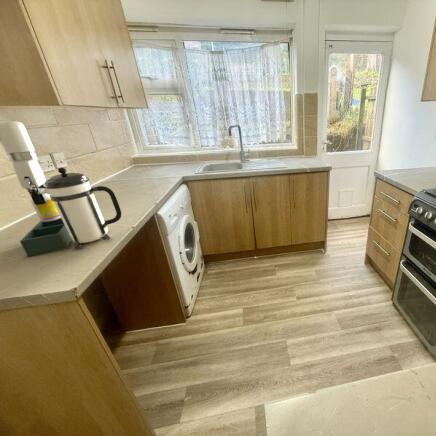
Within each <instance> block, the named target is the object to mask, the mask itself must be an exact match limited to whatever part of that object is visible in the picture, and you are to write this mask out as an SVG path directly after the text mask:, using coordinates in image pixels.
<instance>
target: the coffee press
mask: <svg viewBox="0 0 436 436" xmlns="http://www.w3.org/2000/svg"><path fill="white" fill-rule="evenodd" d="M57 172H58V173H59V174H56V175H53V176H49V177H48V178H46V181H45V185H44V187H45V189H44V190H43V192H42V194H46V193H49V194H50V198H51V200H52V201H53V202H54V204H55V206H56V208H57V210H58V212H59V214H60V216H61V218H62V220H63V222H64V225H65V227H66V229H67V231H68V233H69V235H70V237H71V241H73V243H74V249H78V250H79V249H80V248H82V247H83V245H84V244H86V243H90V242H94V241H97V240H99V239H103V240H104V241H106V240H107V241H109V240H110V239H111V236H110V235H108V233H109V229H108V226H109V225H111V224H114V223H116V222H118V221H119V220H121V217H122V209H121V207H120V204H119V202H118V199H117V197H116V194H115V192H114V190H112V189H111V188H109V187H107V186H105V185H98V186H94V187H92V186H91V184H90V178H89V177H87V175H85V174H84V173H82V172H67V169H66V168H65V167H59V168H58V169H57ZM102 191H103V192H105V193H107V194H108V195H109V197H110V199H111V202H112V204H113V207H114V210H115V216H114V217H113V218H111V219H110V218H109V219H106V220H105V218H104V216H103V213H102V211H101V209H100V206H99V204H98V201H97V199H96V195H95V192H102Z"/></svg>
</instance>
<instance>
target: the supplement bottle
mask: <svg viewBox="0 0 436 436" xmlns="http://www.w3.org/2000/svg"><path fill="white" fill-rule="evenodd" d="M44 189H45V188H40V194H42V192H43V190H44ZM35 190H36V188H35ZM36 191H37V190H36ZM42 195H43V197H44V199H45V201H46V203H45V204H39V205H35V204H34V202H33V199H32V197H30V198H29V201H30V202H31V205H32V206H33V209H34V210H35V212H36V214H37V216H38V218H39V220H40V221H42V222H49V221H54V220H57V219H59V218H61V216H60V214H59V212H58V210H57V208H56V206H55V204H54V202H53V201H52V200H51V198H50V194H47V193H46V194H42Z"/></svg>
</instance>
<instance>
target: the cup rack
mask: <svg viewBox="0 0 436 436" xmlns="http://www.w3.org/2000/svg"><path fill="white" fill-rule="evenodd" d="M71 241H72V239H71V237H70V235H69V233H68V231H67V229H66V227H65V225H64V222H63V220H62V218H59V219H57V220H54V221H49V222H42V221H41V220H40V221H38V222H37V223H36V225H34V227H32V229H30V230H29V231H28V233H27V234H25V235H24V236H23V237H22V238H21V239H20V240H19V242H20V244H21V246H22V248H23V250H24V252H25V253H26V255H27V257H33V256H38V255H42V254H47V253H51V252H56V251H61V250H64V249H67V247H68V246H69V244H70V243H71Z"/></svg>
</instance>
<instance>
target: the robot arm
mask: <svg viewBox="0 0 436 436" xmlns="http://www.w3.org/2000/svg"><path fill="white" fill-rule="evenodd" d="M0 143H1V145H2V147H3V149H4V151H5V153H6V155H7V157H8V159H9V161H10V163H12V166H13V170H14V173H15V175H16V178H17V180H18V183H19V184H20V186H21V188H22V189H26V191H27V192H28V194H29V196H30V198H32V199H33V202H34V204H35V205H39V204H45V203H46V201H45V199H44V197H43V195H42V194H40V188H45V187H44V185H45V181H46V180H47V178H46V176H45V173H44V171H43V169H42V167H41V166H40V163H39V161H38V160H39V159H40V158H39V156H38V154H37V152H36V149H35V147H34V144H33V143H32V140H31V138H30V136H29V134H28V131H27V128H26V126H25V125H24V123H22V122H20V121H17V120H11V121H10V120H8V121H7V120H6V121H4V120H3V121H0ZM35 189H36V190H37V191H36V190H35ZM47 194H49V193H47Z"/></svg>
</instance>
